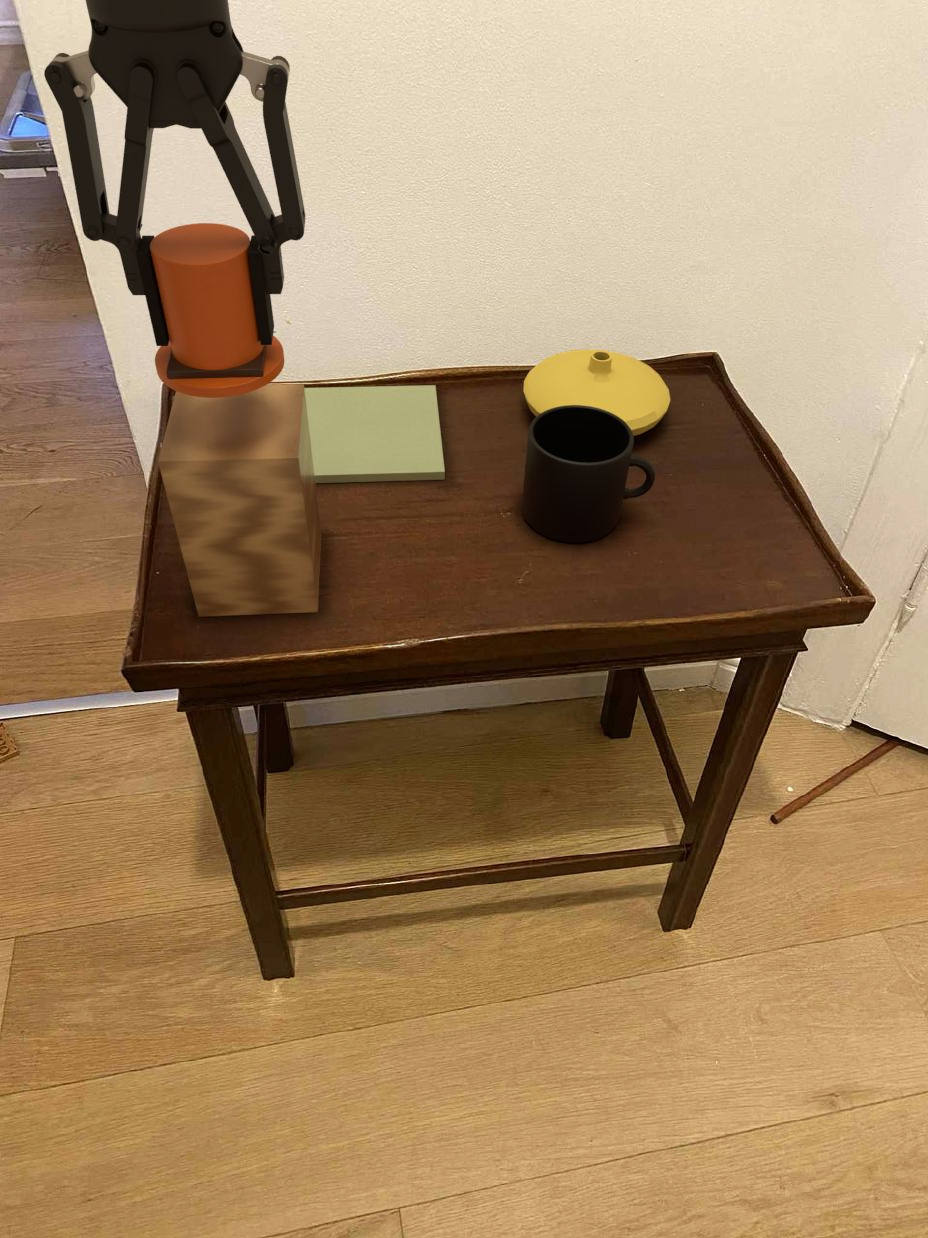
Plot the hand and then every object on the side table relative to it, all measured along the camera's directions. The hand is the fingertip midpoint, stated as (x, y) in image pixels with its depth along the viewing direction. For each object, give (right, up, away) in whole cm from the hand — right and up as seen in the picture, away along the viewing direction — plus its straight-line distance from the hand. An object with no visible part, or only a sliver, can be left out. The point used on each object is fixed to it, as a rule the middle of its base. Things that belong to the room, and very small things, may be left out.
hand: (216, 335), depth 64 cm
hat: (0, -2, +2) cm, 2 cm away
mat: (+6, -1, +32) cm, 32 cm away
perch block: (0, -16, +16) cm, 23 cm away
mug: (+29, -10, +24) cm, 39 cm away
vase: (+32, +2, +36) cm, 48 cm away
